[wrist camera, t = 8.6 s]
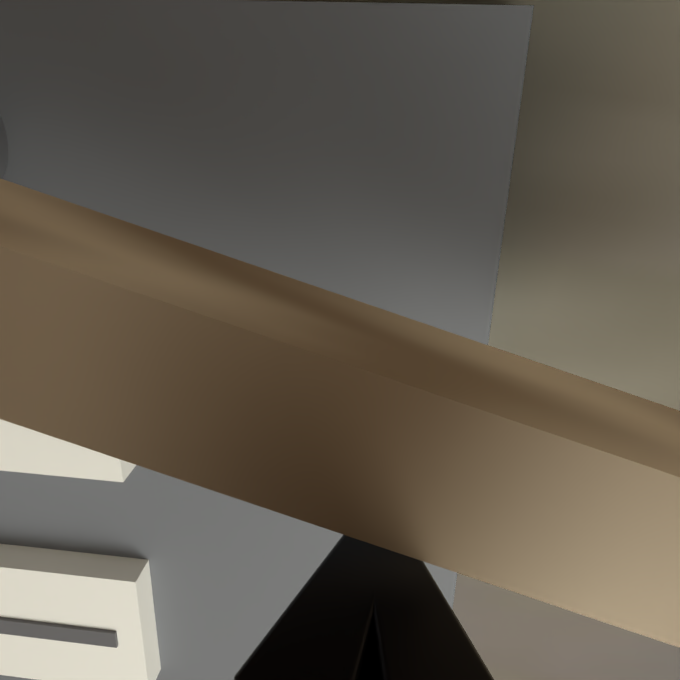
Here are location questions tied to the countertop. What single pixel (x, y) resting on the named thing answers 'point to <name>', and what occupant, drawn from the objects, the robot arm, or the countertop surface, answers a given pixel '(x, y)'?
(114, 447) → the bar
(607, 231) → the countertop surface
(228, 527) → the label board
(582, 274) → the countertop surface
